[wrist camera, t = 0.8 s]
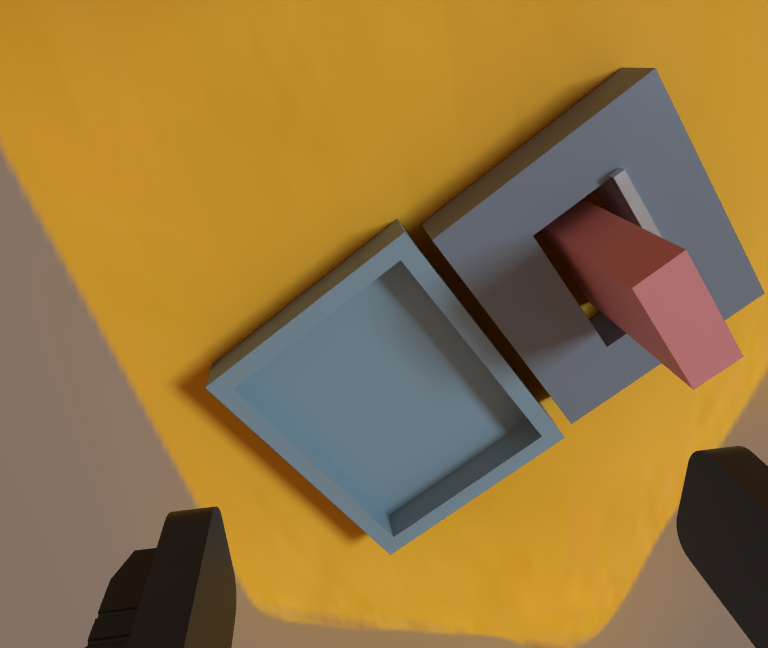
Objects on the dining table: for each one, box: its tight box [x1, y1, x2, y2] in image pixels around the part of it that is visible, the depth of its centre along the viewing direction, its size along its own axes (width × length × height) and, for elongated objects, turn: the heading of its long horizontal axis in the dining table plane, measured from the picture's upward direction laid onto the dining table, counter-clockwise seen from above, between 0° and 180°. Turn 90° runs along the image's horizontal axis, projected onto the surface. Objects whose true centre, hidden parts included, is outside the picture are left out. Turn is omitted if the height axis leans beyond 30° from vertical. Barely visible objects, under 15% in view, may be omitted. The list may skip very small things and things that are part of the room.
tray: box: [205, 220, 565, 555], centre depth 34 cm, size 13×16×2 cm
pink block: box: [542, 199, 744, 390], centre depth 28 cm, size 2×6×10 cm, turn 37°
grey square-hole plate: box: [421, 68, 764, 424], centre depth 31 cm, size 12×14×4 cm
